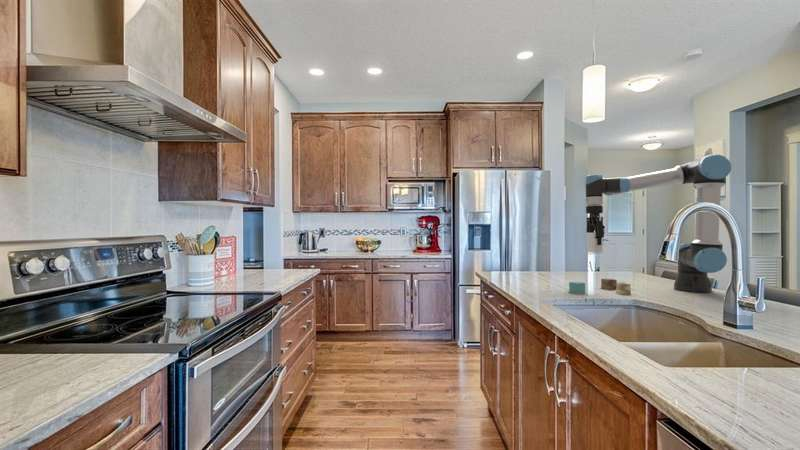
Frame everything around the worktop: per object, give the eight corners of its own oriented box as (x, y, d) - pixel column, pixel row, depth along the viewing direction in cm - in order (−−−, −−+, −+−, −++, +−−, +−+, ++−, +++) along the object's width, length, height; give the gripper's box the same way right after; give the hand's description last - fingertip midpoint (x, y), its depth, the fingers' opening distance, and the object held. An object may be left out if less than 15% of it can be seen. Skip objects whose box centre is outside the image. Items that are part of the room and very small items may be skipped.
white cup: (607, 252, 189) (606, 232, 189) (598, 253, 184) (598, 232, 184) (591, 251, 195) (591, 232, 195) (583, 252, 191) (582, 232, 191)
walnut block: (610, 288, 197) (610, 278, 197) (616, 289, 192) (616, 279, 192) (601, 288, 197) (601, 278, 197) (607, 289, 192) (607, 280, 192)
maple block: (628, 292, 183) (628, 282, 183) (630, 294, 178) (630, 284, 178) (616, 292, 185) (616, 282, 185) (618, 294, 180) (618, 283, 180)
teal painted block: (577, 291, 188) (577, 281, 188) (585, 293, 183) (585, 282, 183) (569, 292, 186) (569, 282, 186) (577, 294, 181) (577, 283, 181)
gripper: (578, 206, 200) (579, 249, 200) (595, 204, 180) (595, 252, 180) (593, 206, 200) (594, 249, 200) (611, 204, 179) (612, 252, 179)
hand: (595, 251), depth 190 cm, fingers closed on white cup, 7 cm apart
